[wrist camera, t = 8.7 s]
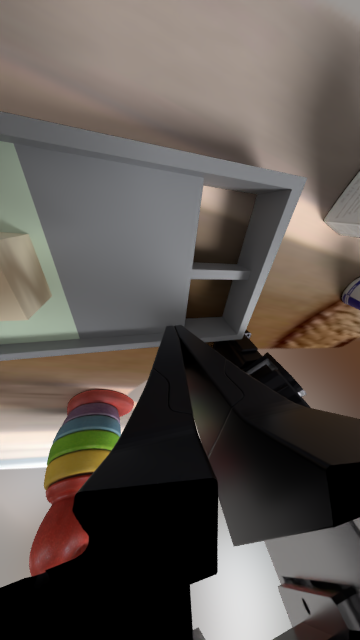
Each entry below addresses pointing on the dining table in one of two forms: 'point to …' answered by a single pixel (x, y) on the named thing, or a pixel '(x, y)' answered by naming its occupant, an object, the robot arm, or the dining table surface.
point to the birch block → (20, 278)
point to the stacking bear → (75, 473)
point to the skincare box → (346, 211)
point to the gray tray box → (126, 237)
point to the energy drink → (352, 294)
